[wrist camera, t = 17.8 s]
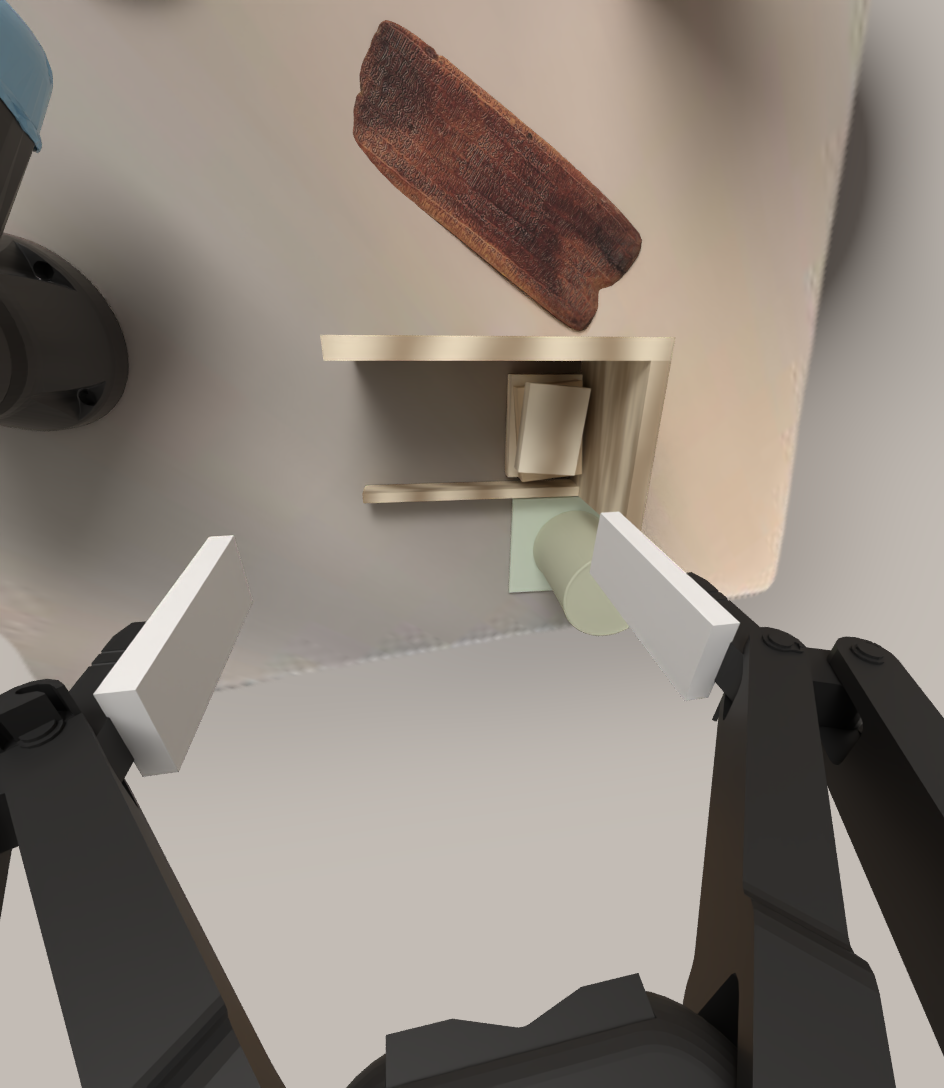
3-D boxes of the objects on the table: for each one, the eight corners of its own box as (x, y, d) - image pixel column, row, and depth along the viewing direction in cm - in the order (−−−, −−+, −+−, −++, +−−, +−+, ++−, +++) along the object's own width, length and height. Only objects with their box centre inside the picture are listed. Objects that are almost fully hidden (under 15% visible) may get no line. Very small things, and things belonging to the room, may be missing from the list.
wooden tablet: (327, 132, 33) (389, -30, 29) (333, 141, 35) (392, -10, 31) (582, 340, 42) (657, 237, 38) (576, 338, 44) (646, 239, 40)
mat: (508, 590, 53) (509, 592, 53) (512, 498, 48) (513, 499, 48) (616, 584, 55) (618, 586, 54) (630, 494, 50) (632, 495, 49)
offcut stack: (504, 472, 47) (516, 488, 42) (507, 374, 43) (521, 377, 37) (568, 470, 48) (588, 485, 42) (578, 373, 44) (601, 377, 38)
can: (605, 502, 49) (659, 544, 38) (610, 570, 53) (660, 627, 42) (527, 520, 49) (559, 568, 38) (538, 587, 53) (569, 649, 42)
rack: (366, 494, 46) (347, 548, 33) (350, 339, 40) (320, 334, 27) (582, 487, 49) (640, 535, 36) (598, 341, 43) (675, 337, 30)
